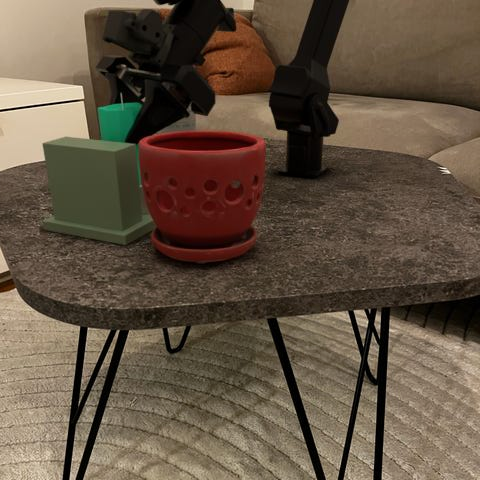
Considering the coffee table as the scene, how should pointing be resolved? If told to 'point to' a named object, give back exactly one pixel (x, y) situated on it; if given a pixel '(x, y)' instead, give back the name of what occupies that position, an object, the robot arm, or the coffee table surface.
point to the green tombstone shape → (96, 190)
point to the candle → (118, 123)
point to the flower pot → (202, 192)
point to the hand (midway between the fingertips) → (115, 140)
